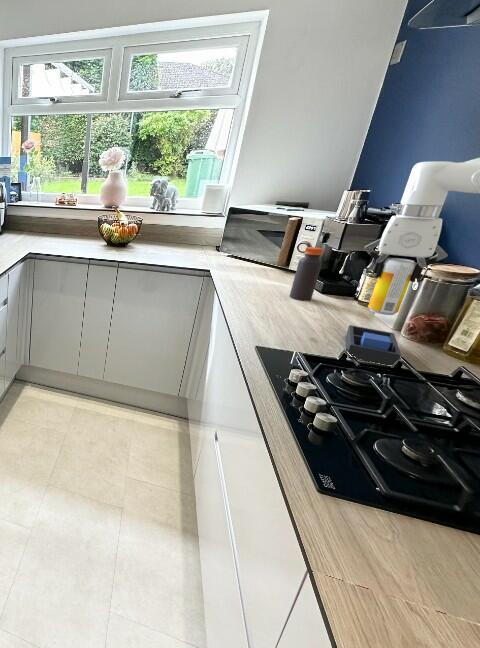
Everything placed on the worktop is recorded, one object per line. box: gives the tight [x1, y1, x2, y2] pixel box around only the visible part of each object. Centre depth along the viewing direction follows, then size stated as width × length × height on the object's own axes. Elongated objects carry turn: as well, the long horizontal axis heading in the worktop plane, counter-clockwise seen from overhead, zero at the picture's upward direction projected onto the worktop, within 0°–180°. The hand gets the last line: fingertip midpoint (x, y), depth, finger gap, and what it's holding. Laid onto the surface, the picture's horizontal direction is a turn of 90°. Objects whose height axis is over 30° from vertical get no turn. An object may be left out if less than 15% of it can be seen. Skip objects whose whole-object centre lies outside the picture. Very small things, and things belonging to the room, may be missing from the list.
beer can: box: [367, 257, 416, 316], centre depth 110 cm, size 6×6×15 cm
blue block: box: [359, 332, 391, 351], centre depth 109 cm, size 5×5×5 cm
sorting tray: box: [345, 324, 401, 366], centre depth 112 cm, size 10×18×4 cm, turn 138°
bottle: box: [289, 246, 323, 301], centre depth 154 cm, size 7×7×20 cm
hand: (394, 278), depth 109 cm, fingers closed on beer can, 6 cm apart
